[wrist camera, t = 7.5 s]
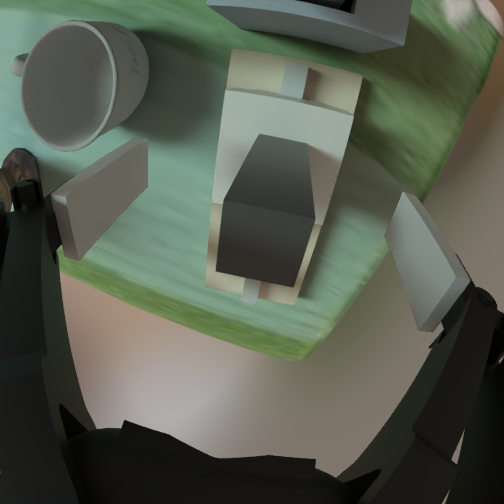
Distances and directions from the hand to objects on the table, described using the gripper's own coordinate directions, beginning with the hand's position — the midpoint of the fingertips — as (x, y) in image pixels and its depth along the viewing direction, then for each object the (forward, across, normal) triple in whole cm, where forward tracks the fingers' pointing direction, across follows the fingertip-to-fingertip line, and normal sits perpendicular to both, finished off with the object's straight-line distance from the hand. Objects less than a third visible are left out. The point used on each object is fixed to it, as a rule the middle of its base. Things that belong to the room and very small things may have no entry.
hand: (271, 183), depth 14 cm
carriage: (+10, 0, 0) cm, 10 cm away
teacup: (+12, -18, +4) cm, 22 cm away
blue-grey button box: (+12, 0, +12) cm, 17 cm away
